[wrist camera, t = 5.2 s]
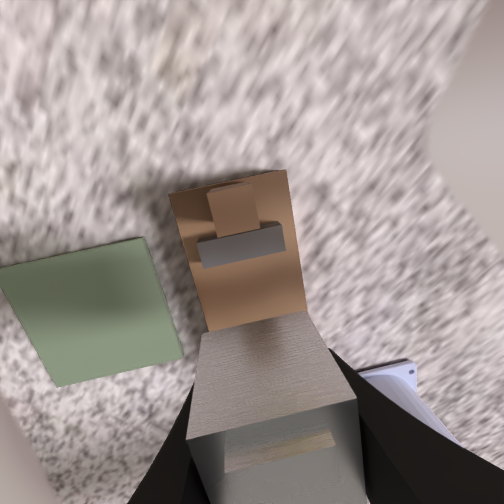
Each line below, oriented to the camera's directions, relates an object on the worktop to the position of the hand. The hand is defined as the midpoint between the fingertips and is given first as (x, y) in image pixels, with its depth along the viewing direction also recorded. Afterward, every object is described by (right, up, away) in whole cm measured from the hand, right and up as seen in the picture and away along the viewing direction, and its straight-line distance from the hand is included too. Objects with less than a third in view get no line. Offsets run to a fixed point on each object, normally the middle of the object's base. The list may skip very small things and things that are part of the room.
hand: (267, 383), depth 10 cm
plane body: (-1, +3, +10) cm, 10 cm away
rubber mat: (-12, 0, +9) cm, 15 cm away
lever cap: (0, 0, 0) cm, 0 cm away
